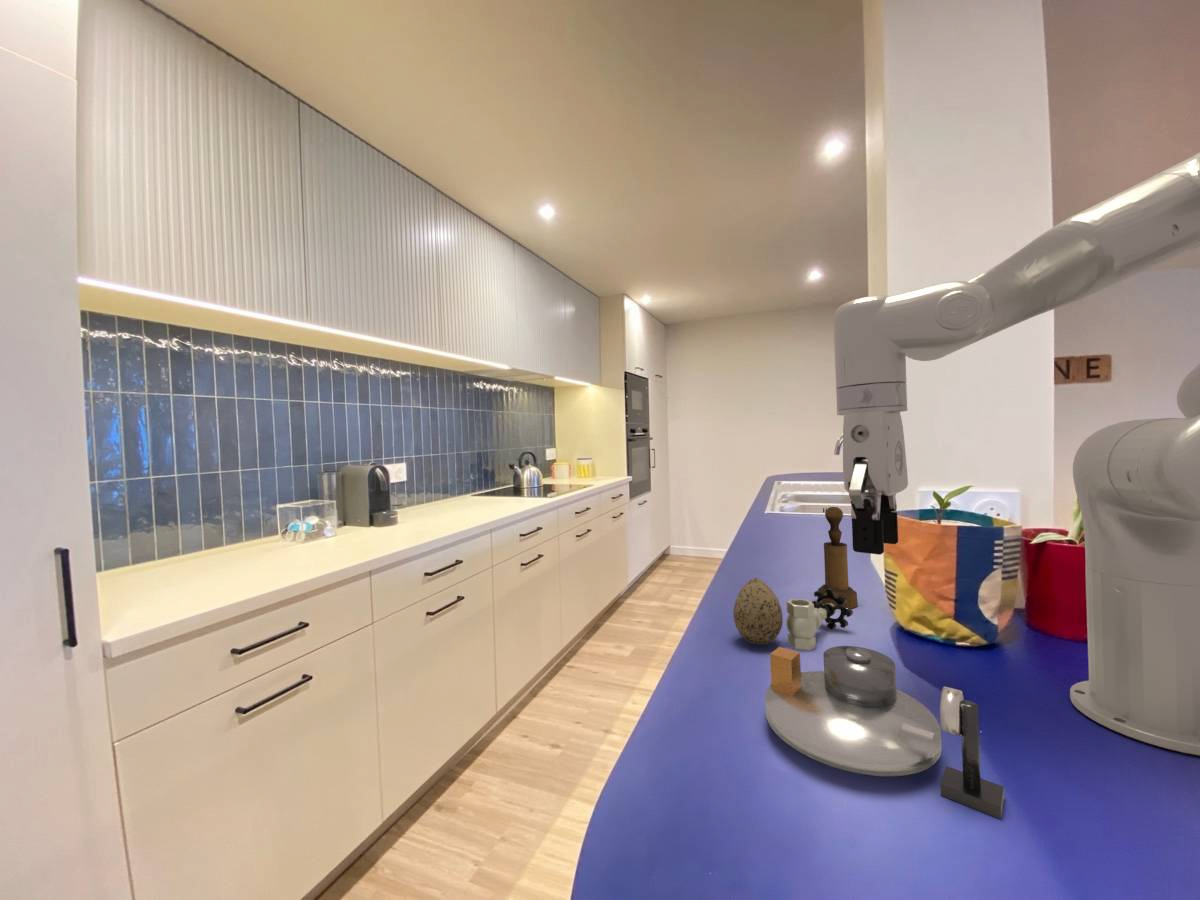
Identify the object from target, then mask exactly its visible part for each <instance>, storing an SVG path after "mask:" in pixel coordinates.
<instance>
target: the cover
mask: <svg viewBox="0 0 1200 900" xmlns="http://www.w3.org/2000/svg"><path fill="white" fill-rule="evenodd" d="M896 670H897V669H896V663H895V661H894V660H893V659H892V658H890V657H889V656H888V655H885V654H884V653H882V652H880V651H876V650H873V649H869V648H866V647H860V646H854V645H840V646H838V645H837V646H833V647H830V648H827V649H826V650H824V652H823V671H824V680H825V688H826V690H827V691H828V692H829V693H830V694H831V695H832V696H833V697H835V698H837V699H839V700H841V701H843V702H845V703H848V704H851V705H855V706H859V707H865V708H885V707H889V706H891V705H893V704H894V703H895V702H896V700H897V692H896V689H897V674H896V673H897V671H896Z"/></svg>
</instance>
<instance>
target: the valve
mask: <svg viewBox="0 0 1200 900" xmlns="http://www.w3.org/2000/svg"><path fill="white" fill-rule="evenodd" d="M825 592H827V594H826V595H824V594H823V592H822V591H820V590H818V589H817V590H816V591H814V592H813V596H814V597H817V599H816V600H813V601H810V600H808V599H803V598H792V599H789V600H788V601H787V602H786V613H788V614H787V616H786V618H785V620H786V621H785V626H786V629H787V631H788V634H787V640H788V641H787V643H788V645H789V644H790V645H789V646H790V647H791V648H793V649H795V650H801V651H812V650H814V649H815V648H816V646H817V642H816V636H815V634H816V633H817V632H816V631H817V629H818V628H820V627H821V626H822V624H823V621H825V624H826V627H827V629H829V630H833V629H835V628H836V627H837V624H836V623H838V624H839V627H840V628H843V629H845V628H847V627H848V625H849V623H848V620H847V619H846V618H849V617H852V616H853V614H854V612H853V610H852V608H848V609H846V608H845V606H844V603H845V602H847V597H846V596H844V595H841V596H840V597H839V598H838V597H836V596H835V595H834V593H835V591H834V589H833V588H828V589H826V591H825ZM818 598H819V599H818ZM826 598H829V599H832V600H834V601H835V602H836V603H837V604H838V605H836V606H835V605H834V604H832V603H826V604H824V605H822V601H823V600H824V599H826ZM837 610H840V612H839V613H840V614H839V616H838V617H836V618H833V617H832V616H834V615H835V614H836V613H837ZM845 617H846V618H845Z"/></svg>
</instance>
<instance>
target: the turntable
mask: <svg viewBox="0 0 1200 900" xmlns="http://www.w3.org/2000/svg"><path fill="white" fill-rule="evenodd" d="M769 657H770V660H769V661H770V683H771V684H770V685H769V686H768V687H767V689H766V691H765V695H764V700H765V701H764V702H765V716H766V719H767V720H766V721H767V722H768V724H769V726H770V727H771V729H772V730H773V732H774V733H775V734H776V735H777V736H778V737H779V738H780V739H781V740H782V741H783V742H784V743H786V744H787V745H789V746H790V747H791V748H793V749H794V750H796V751H797V752H799V753H801V754H802V755H804V756H806V757H808V758H811V759H813V760H814V761H817V762H819V763H822V764H824V765H827V766H829V767H832V768H836V769H839V770H843V771H847V772H850V773H854V774H855V773H856V774H861V775H866V776H867V775H868V776H875V777H876V776H877V777H898V776H899V777H901V776H908V775H913V774H918V773H920V772H923V771H925V770H927V769H929V768H931V767H932V766H934V765H935V764H936V763H937V762H938V760H939V758H940V757H941V753H942V729H941V725H940V722H939V721H938V719H937V718H936V717H935V715H934V714H933V713H932V711H930V710H929V708H927V707H926V706H925V705H924V704H923V703H921V702H920V701H919V700H917V699H916V698H915V697H913V696H912V695H909V694H908V693H906V692H904V691H902V690H900V689H898V688H896V692H897V700H896V702H895V703H894V704H893V705H891V706H889V707H885V708H865V707H859V706H855V705H851V704H848V703H845V702H843V701H841V700H839V699H837V698H835V697H833V696H832V695H831V694H830V693H829V692H828V691H827V690H826V688H825V680H824V670H816V671H815V670H811V671H809V670H808V671H802V670H801V668H802V667H801V651H800V652H799V651H796V650H792V649H788V648H785V647H781V646H778V647H777V648H776V649H775V650H773V651H772V652H770V654H769ZM801 671H802V672H801Z"/></svg>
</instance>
